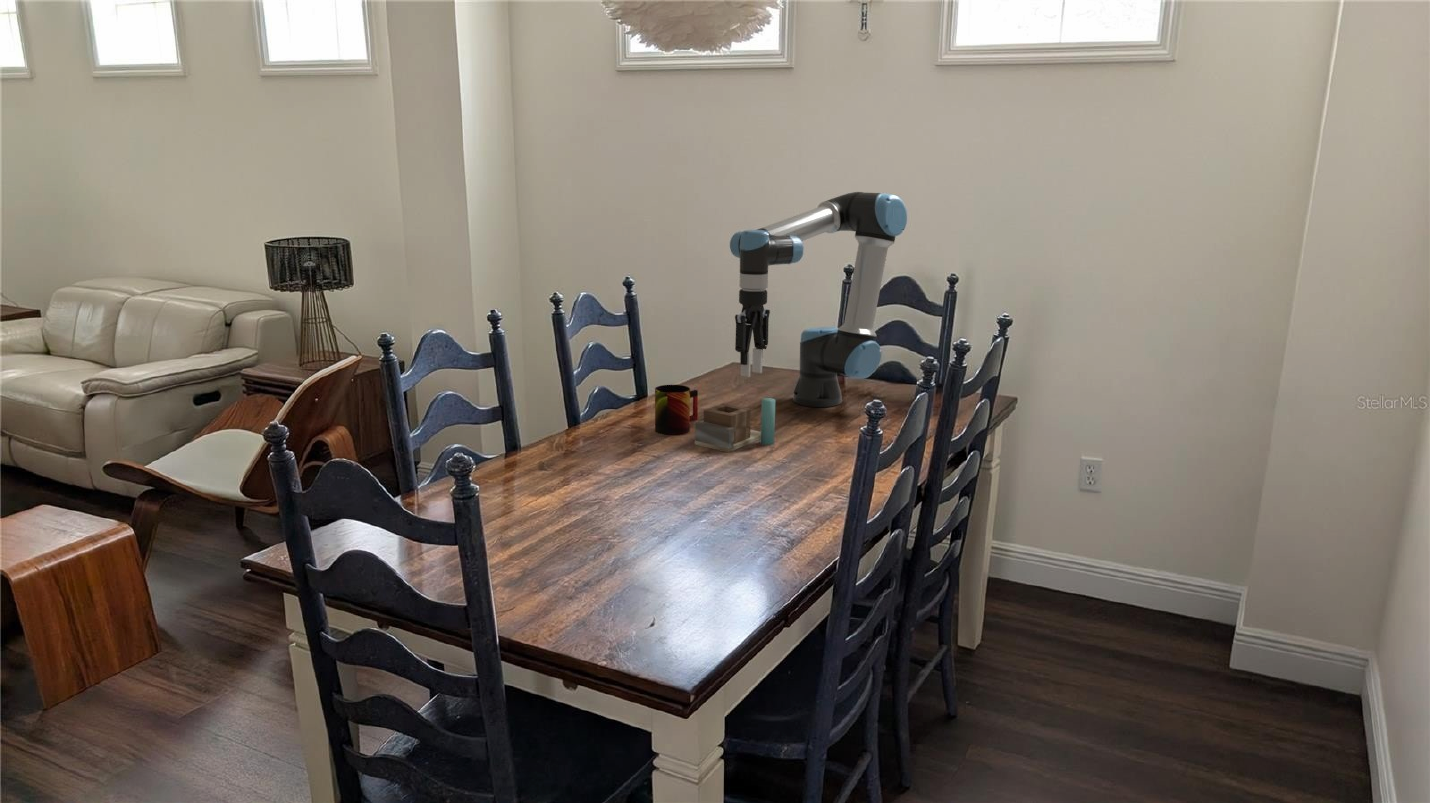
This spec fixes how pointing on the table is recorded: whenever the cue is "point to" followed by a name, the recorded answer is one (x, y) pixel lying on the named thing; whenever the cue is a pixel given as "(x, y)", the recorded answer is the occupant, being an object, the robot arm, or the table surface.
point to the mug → (674, 409)
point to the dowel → (767, 421)
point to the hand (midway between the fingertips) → (751, 374)
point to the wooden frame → (720, 437)
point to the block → (731, 419)
